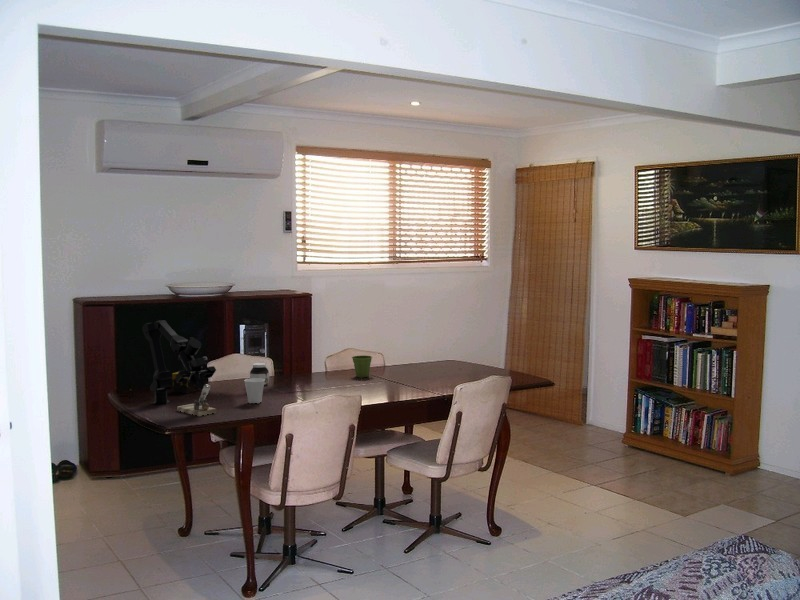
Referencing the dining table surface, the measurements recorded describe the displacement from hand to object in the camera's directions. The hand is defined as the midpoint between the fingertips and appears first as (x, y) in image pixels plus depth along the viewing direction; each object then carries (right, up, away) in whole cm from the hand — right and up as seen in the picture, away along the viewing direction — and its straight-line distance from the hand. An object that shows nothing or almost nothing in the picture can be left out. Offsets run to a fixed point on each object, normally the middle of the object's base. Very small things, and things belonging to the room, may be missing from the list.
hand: (203, 389), depth 362 cm
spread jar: (+12, -6, +71) cm, 72 cm away
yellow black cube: (-22, -7, +54) cm, 59 cm away
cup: (+19, -10, +25) cm, 33 cm away
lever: (-2, -8, +3) cm, 9 cm away
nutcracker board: (-4, -11, +5) cm, 13 cm away
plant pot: (+67, -4, +94) cm, 116 cm away
